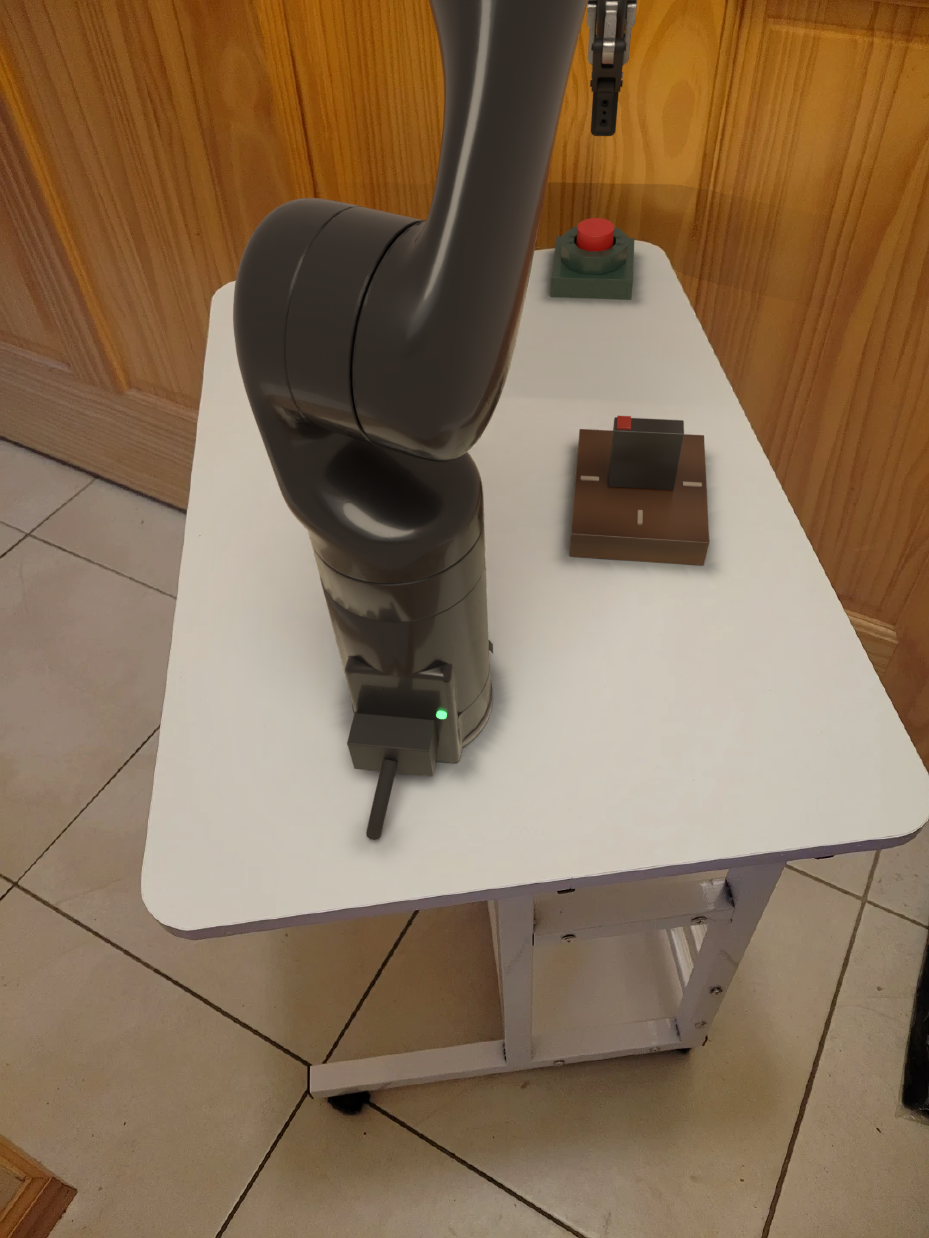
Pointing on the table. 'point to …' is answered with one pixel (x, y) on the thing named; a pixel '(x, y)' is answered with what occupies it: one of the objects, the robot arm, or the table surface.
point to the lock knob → (645, 453)
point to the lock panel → (639, 508)
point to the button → (595, 234)
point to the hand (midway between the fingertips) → (603, 132)
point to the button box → (593, 269)
